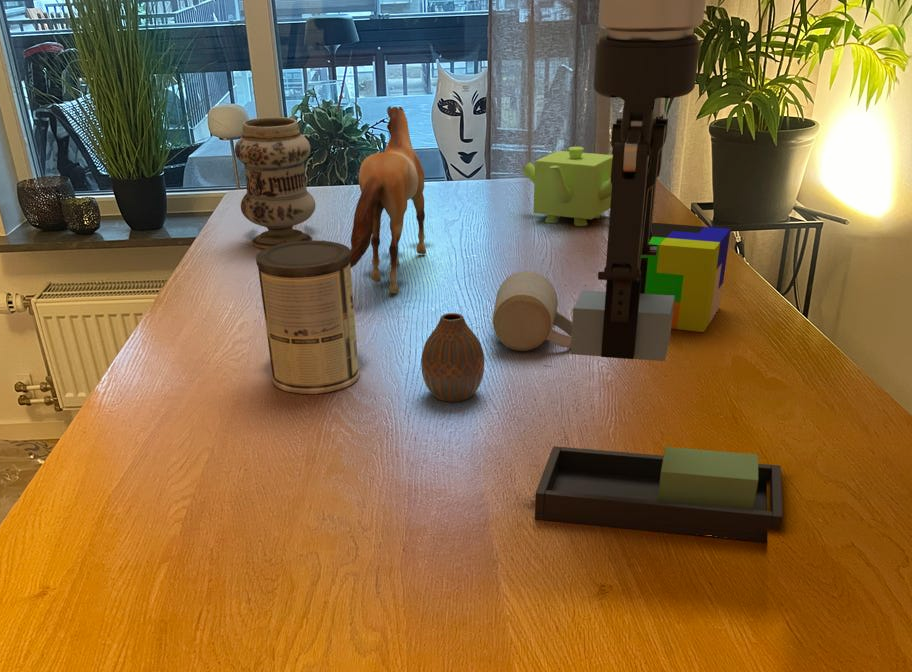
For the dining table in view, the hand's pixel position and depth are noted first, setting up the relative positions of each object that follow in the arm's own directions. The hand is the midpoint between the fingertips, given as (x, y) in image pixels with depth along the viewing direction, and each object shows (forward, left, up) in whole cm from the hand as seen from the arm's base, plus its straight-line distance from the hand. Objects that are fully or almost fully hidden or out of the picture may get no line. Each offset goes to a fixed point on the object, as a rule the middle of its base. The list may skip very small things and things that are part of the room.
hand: (621, 344), depth 87 cm
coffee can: (+36, -19, -13) cm, 43 cm away
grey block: (0, 0, 0) cm, 0 cm away
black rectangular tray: (-5, +4, -13) cm, 14 cm away
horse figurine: (+41, -59, -13) cm, 73 cm away
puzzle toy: (-3, -48, -13) cm, 49 cm away
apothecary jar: (+62, -74, -13) cm, 97 cm away
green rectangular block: (-9, +4, -12) cm, 16 cm away
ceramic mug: (+13, -35, -13) cm, 39 cm away
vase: (+19, -17, -13) cm, 29 cm away
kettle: (+17, -95, -13) cm, 97 cm away
